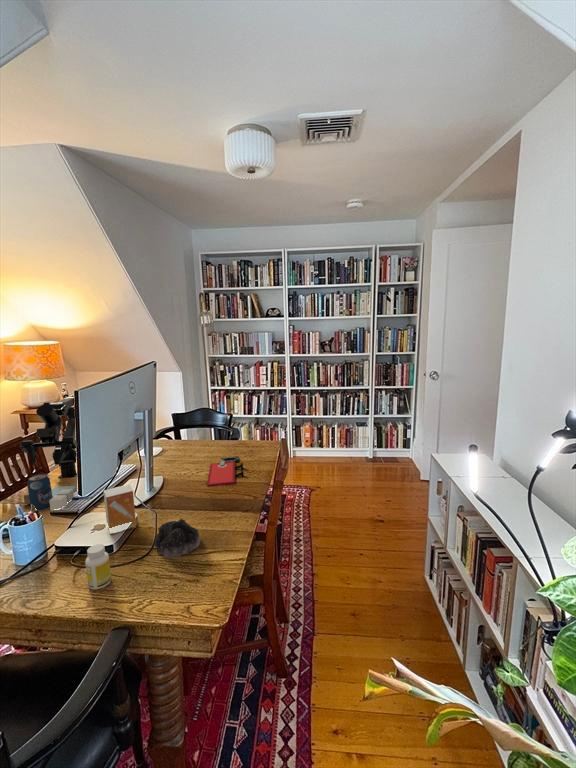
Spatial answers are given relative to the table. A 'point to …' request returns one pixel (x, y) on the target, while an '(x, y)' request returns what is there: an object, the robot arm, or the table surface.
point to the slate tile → (58, 489)
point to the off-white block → (58, 501)
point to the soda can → (40, 491)
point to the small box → (119, 506)
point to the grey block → (67, 493)
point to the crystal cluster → (176, 538)
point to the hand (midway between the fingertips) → (45, 464)
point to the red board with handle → (224, 472)
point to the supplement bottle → (98, 567)
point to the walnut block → (26, 498)
